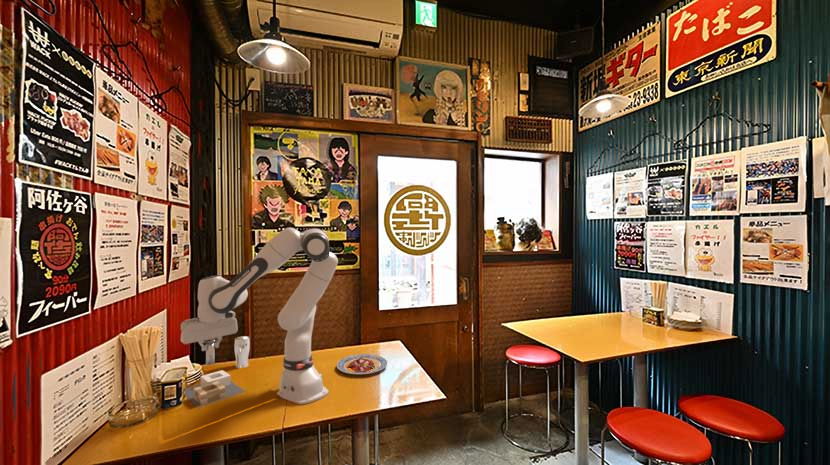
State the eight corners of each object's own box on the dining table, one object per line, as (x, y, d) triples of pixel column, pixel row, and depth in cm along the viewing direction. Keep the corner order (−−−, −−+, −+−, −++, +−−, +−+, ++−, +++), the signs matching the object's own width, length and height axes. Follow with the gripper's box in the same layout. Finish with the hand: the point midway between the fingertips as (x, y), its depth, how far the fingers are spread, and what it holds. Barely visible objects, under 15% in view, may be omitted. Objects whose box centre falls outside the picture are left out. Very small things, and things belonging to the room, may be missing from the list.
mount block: (225, 397, 139) (225, 387, 139) (201, 405, 132) (201, 395, 132) (217, 390, 145) (217, 380, 145) (193, 397, 138) (193, 388, 138)
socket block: (230, 384, 150) (230, 375, 150) (208, 391, 143) (208, 382, 143) (222, 378, 156) (222, 370, 156) (200, 385, 149) (200, 376, 149)
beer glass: (243, 370, 167) (243, 340, 167) (231, 369, 169) (231, 339, 169) (252, 365, 174) (252, 336, 174) (240, 364, 175) (241, 335, 175)
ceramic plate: (325, 369, 171) (325, 363, 171) (361, 354, 192) (361, 349, 192) (363, 383, 156) (363, 376, 156) (397, 365, 177) (397, 359, 177)
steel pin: (217, 363, 139) (217, 339, 139) (206, 366, 136) (206, 341, 136) (213, 361, 141) (213, 337, 141) (203, 364, 138) (203, 339, 138)
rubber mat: (245, 393, 144) (245, 391, 144) (197, 410, 130) (197, 407, 130) (224, 378, 158) (224, 376, 158) (179, 392, 144) (179, 390, 144)
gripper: (183, 321, 128) (183, 358, 128) (239, 312, 144) (239, 344, 144) (178, 319, 132) (178, 354, 132) (233, 310, 148) (233, 341, 148)
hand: (210, 349), depth 138 cm, fingers closed on steel pin, 3 cm apart
